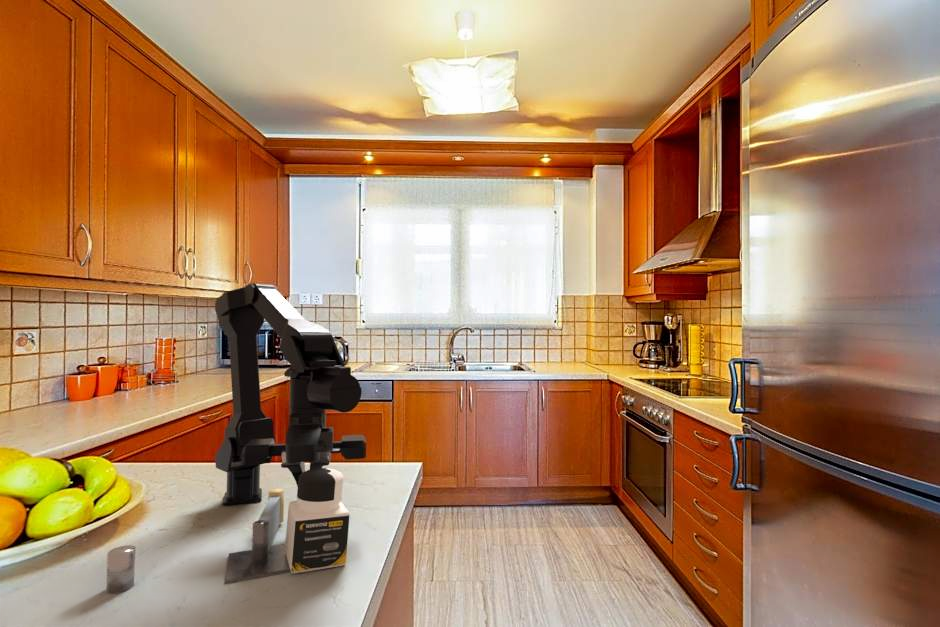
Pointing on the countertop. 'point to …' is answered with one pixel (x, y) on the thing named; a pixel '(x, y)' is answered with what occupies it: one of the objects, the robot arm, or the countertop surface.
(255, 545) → the peg on base plate
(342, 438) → the robot arm
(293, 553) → the medicine bottle
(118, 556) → the post
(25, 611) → the countertop surface
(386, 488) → the countertop surface
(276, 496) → the gate
